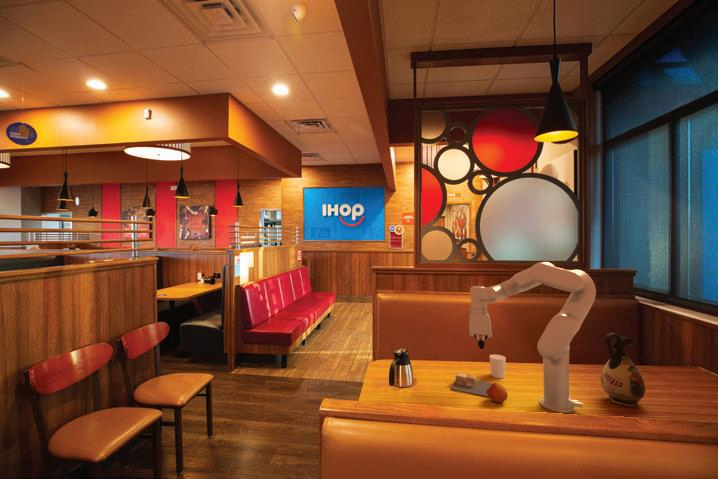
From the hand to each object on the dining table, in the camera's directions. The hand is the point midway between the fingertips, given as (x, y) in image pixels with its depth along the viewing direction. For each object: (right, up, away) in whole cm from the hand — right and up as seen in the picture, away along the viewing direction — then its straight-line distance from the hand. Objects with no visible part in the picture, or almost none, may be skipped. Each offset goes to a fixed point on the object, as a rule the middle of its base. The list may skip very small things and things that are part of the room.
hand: (481, 348), depth 165 cm
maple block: (-4, -16, -2) cm, 16 cm away
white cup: (+13, -19, +11) cm, 25 cm away
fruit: (+1, -18, -17) cm, 25 cm away
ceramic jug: (+54, -18, -19) cm, 60 cm away
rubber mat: (-5, -18, -3) cm, 19 cm away
